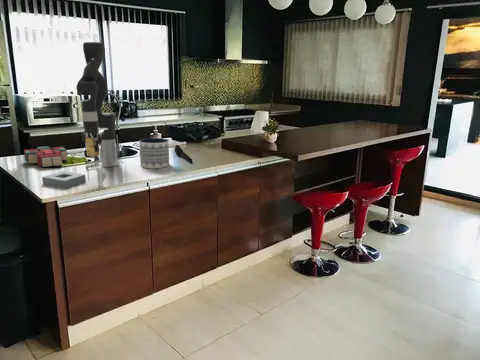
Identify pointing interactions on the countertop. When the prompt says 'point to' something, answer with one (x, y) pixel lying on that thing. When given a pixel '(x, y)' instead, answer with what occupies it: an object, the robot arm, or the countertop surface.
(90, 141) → the peg
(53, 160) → the toy
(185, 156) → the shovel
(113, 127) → the robot arm
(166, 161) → the planter
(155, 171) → the countertop surface
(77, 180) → the hole block
